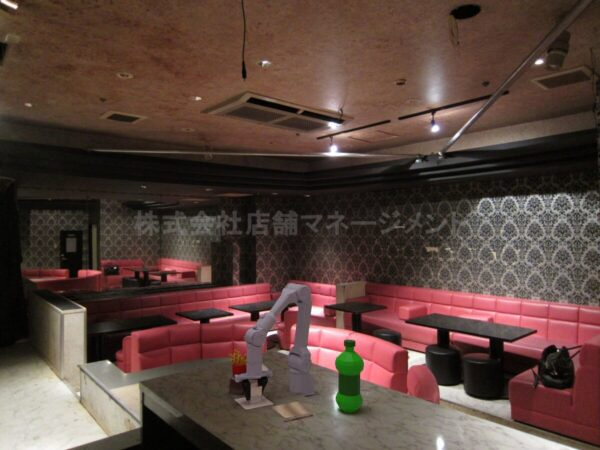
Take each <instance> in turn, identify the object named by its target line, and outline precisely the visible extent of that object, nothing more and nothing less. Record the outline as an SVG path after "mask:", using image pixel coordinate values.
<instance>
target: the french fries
mask: <svg viewBox="0 0 600 450" xmlns="http://www.w3.org/2000/svg"><path fill="white" fill-rule="evenodd" d="M228 357H230V358H231V359H230V360H229V361H230V362H231V363H232V365H231V368H232V369H231V370H232V371H231V372H232V377H233V376H234V375H240V374H243V373H247V353H246V354H245V353H244V354H243V356H242V353H241V351H239V350H237V349H234V352H233V354H232V353H229V354H228Z"/></svg>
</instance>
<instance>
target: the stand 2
mask: <svg viewBox="0 0 600 450" xmlns="http://www.w3.org/2000/svg"><path fill="white" fill-rule="evenodd" d="M271 408H272V409H273V410H274V411H275V412H277V413H278V414H279V415H281V416H282V417H283V418H285V419H286V420H283V422H284V423H286V424H287V423H291V422H294V421H298V420H299V421H300V420H302V419H303V420H304V419H308V418H310V417H311V418H312V417H314V414H311V413H313V411H312V410H311V409H310V408H308V407H306V406H305V405H304V404H302V403H301V402H299V401H292V402H288V403H283V404H279V405H274V406H271ZM306 414H308V415H306ZM298 416H300V417H298ZM292 417H295V418H292ZM288 418H291V419H288Z"/></svg>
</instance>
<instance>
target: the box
mask: <svg viewBox="0 0 600 450" xmlns="http://www.w3.org/2000/svg"><path fill="white" fill-rule="evenodd" d="M235 376H236V375H234V376H233V375H232V376H231V377H230V378H229V395H233V396H245V393H244V389H243V387H242V384H241V382H240V381H239V382H236V381H235Z"/></svg>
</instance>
